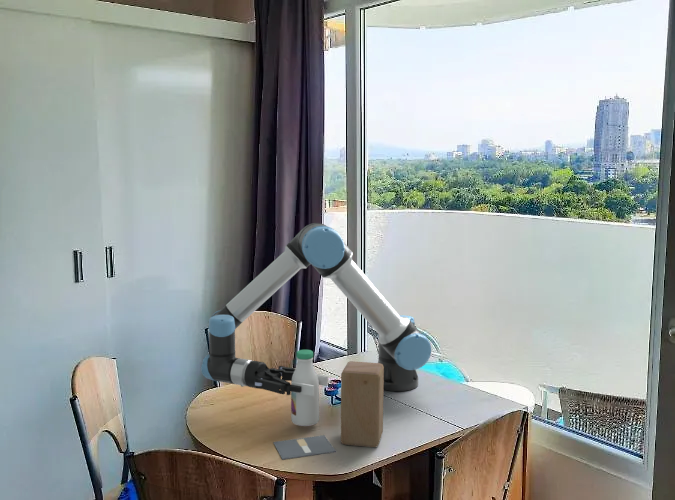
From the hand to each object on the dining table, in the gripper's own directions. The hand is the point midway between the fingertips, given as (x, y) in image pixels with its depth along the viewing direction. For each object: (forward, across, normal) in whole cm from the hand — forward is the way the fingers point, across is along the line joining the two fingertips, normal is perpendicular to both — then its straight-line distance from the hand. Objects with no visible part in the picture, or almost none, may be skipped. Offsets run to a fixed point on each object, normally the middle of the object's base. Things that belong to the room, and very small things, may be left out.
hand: (320, 385), depth 172 cm
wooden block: (+12, 0, -13) cm, 18 cm away
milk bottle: (-5, 0, -11) cm, 12 cm away
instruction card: (+1, +11, -13) cm, 17 cm away
